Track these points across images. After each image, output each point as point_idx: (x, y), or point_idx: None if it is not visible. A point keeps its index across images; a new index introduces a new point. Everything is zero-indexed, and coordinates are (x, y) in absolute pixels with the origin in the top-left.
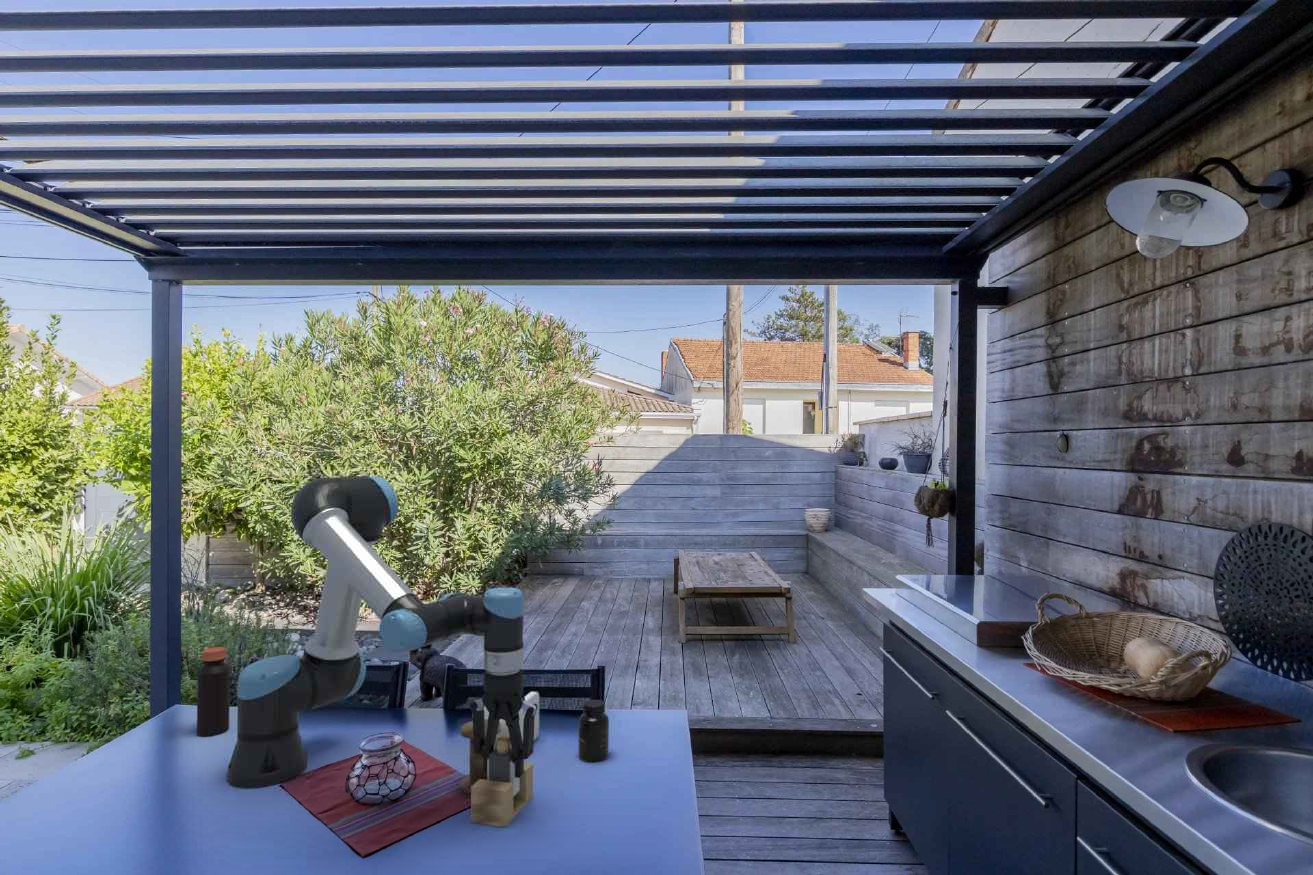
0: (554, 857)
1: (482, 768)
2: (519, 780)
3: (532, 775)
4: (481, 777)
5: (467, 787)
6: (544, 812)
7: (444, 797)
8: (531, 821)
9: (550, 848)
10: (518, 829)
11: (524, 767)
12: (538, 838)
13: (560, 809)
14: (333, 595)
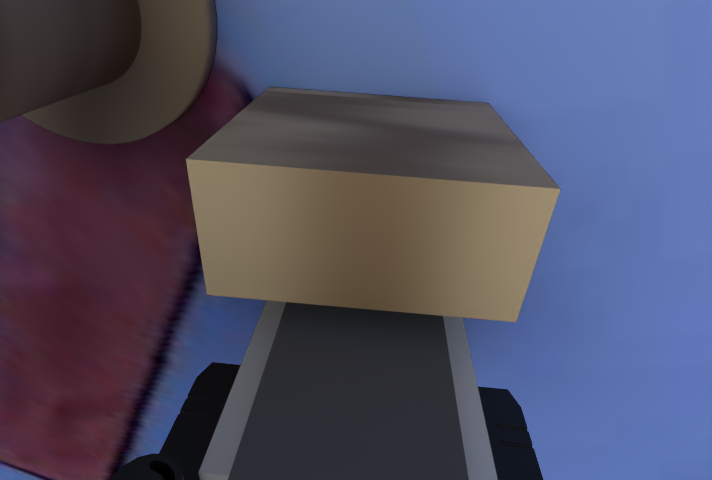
0: (643, 476)
1: (50, 98)
2: (464, 325)
3: (524, 150)
4: (90, 87)
5: (66, 129)
6: (585, 251)
7: (20, 192)
8: (531, 322)
9: (628, 446)
10: (487, 372)
11: (490, 276)
12: (578, 409)
13: (674, 213)
14: None
